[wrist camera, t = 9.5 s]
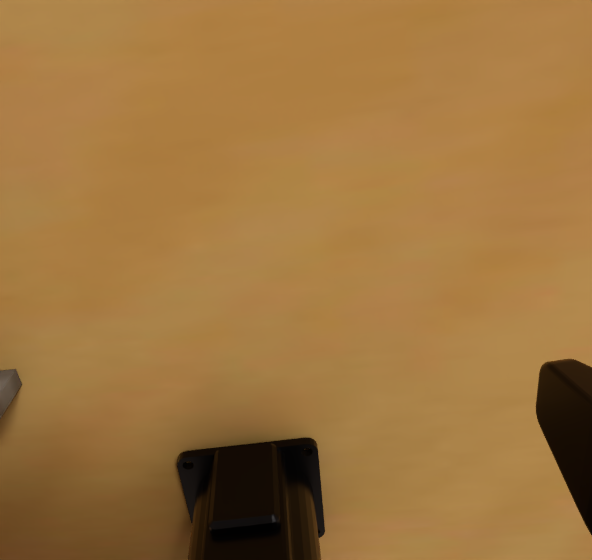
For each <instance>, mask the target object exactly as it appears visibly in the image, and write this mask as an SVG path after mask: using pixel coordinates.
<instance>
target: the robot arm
mask: <svg viewBox="0 0 592 560" xmlns="http://www.w3.org/2000/svg"><path fill="white" fill-rule="evenodd" d="M536 415H537V419H538V422H539V425H540V427H541V429H542V432H543V434H544V436H545V438H546V440H547V443H548V445H549V447H550V449H551V451H552V454H553V456H554V458H555V460H556V462H557V464H558V467H559V469H560V471H561V473H562V475H563V478H564V480H565V482H566V484H567V486H568V489H569V491H570V493H571V495H572V497H573V500H574V502H575V504H576V506H577V508H578V510H579V512H580V514H581V516H582V518H583V521H584V523H585V524H586V526H587V528H588V530H589V532H590V533H591V535H592V367H590V366H588V365H586V364H583V363H581V362H579V361H577V360H574V359H564V360H557V361H550V362H546V363H544V364H543V365H542V367H541V369H540V373H539V382H538V391H537V400H536ZM305 448H310V449H308V450H304V449H305ZM187 461H189V462H192V463H187ZM177 467H178V471H179V475H180V479H181V483H182V487H183V491H184V495H185V499H186V503H187V507H188V511H189V515H190V519H191V523H192V530H191V539H190V547H189V555H188V560H321V554H320V545H319V538H320V537H322V536H323V535H324V533H325V527H324V516H323V504H322V493H321V481H320V469H319V458H318V448H317V443H316V441H315V440H314V439H311V438H300V439H291V440H282V441H273V442H264V443H255V444H246V445H237V446H228V447H219V448H210V449H201V450H192V451H185V452H183V453H181V454H180V455H179V457H178V463H177Z"/></svg>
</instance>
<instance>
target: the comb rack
mask: <svg viewBox="0 0 592 560" xmlns="http://www.w3.org/2000/svg"><path fill="white" fill-rule="evenodd" d="M21 385H22V384H21V381H20V378H19V376H18V373H17V371H16V369H12V370H3V371H0V419H1V417H2V415H3V414H4V412H5V411H6V409H7V407H8V406H9V404H10V403H11V401H12V399H13V398H14V396H15V395H16V393H17V391H18V390H19V388H20V387H21Z"/></svg>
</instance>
